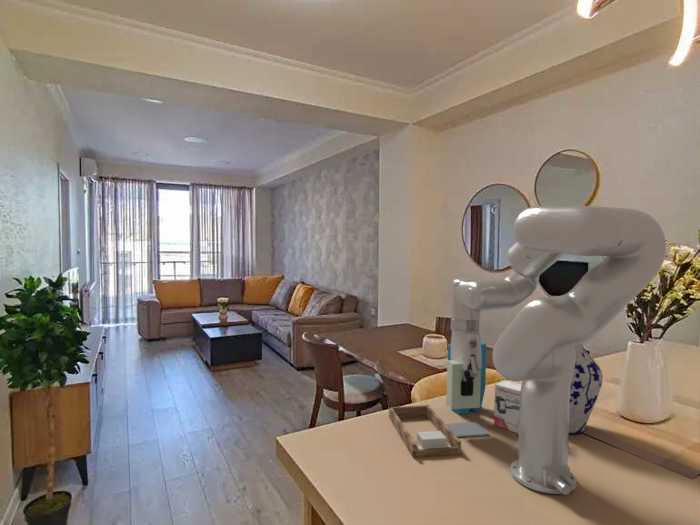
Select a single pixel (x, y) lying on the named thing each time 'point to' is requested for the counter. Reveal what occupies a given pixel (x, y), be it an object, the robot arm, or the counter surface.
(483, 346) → the block
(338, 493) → the counter surface
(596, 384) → the vase
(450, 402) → the sage green box
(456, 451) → the tray
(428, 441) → the offcut top
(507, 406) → the ink box
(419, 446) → the offcut low
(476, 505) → the counter surface
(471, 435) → the felt mat
